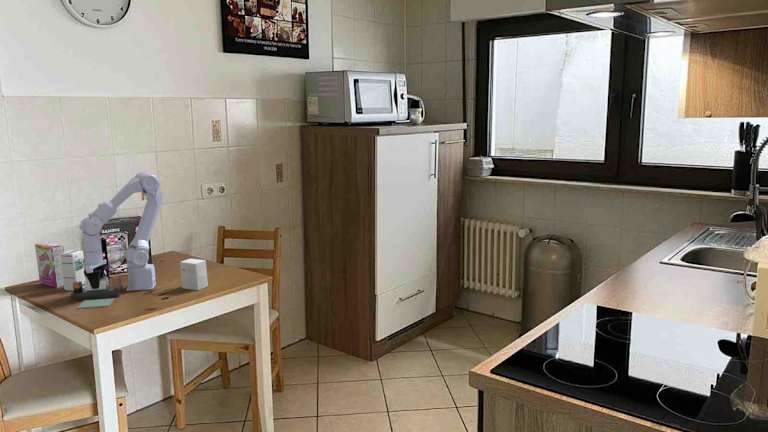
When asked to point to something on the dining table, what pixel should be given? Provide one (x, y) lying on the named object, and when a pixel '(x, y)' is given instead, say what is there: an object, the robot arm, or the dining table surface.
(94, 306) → the rubber mat
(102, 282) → the lever cap
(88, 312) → the dining table surface
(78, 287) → the plane body
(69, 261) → the syrup box
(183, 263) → the small box
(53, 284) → the candy bar box
